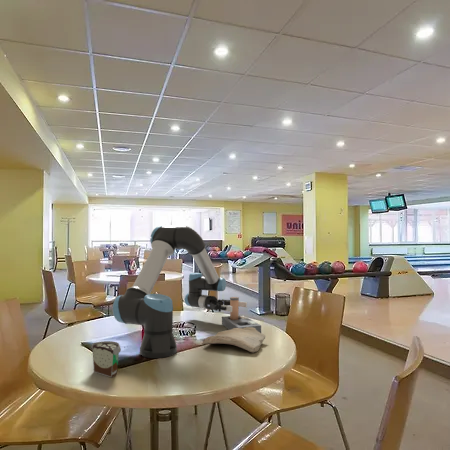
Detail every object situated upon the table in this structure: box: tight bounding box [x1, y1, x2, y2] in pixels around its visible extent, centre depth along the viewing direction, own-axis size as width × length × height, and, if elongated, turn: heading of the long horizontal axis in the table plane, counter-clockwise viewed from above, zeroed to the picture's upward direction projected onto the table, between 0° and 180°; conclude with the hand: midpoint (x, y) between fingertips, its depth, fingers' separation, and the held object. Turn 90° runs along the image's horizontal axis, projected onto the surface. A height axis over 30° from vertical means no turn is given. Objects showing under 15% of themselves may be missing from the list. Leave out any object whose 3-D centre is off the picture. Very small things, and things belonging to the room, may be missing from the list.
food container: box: [91, 340, 122, 378], centre depth 130 cm, size 12×6×10 cm, turn 58°
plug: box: [229, 296, 240, 320], centre depth 193 cm, size 5×5×15 cm
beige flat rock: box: [201, 327, 266, 353], centre depth 160 cm, size 24×8×20 cm
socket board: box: [221, 314, 262, 333], centre depth 187 cm, size 24×12×4 cm, turn 20°
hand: (239, 306), depth 191 cm, fingers open, 13 cm apart
